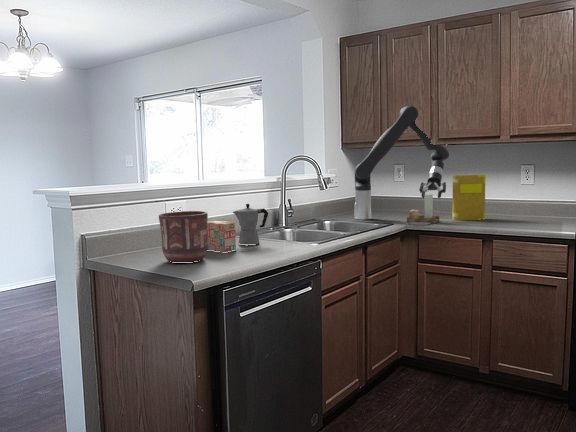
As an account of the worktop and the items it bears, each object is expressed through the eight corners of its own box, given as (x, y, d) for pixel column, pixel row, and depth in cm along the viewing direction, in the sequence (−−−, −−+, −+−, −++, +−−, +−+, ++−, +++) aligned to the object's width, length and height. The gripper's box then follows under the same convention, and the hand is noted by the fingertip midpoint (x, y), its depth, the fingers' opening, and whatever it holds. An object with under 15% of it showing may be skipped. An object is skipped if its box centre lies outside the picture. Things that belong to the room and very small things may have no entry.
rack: (406, 222, 285) (406, 217, 285) (412, 220, 295) (412, 215, 295) (434, 223, 278) (434, 218, 277) (439, 220, 288) (439, 215, 288)
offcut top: (409, 215, 286) (409, 211, 285) (412, 214, 293) (412, 209, 293) (416, 215, 284) (416, 211, 284) (419, 214, 292) (419, 209, 291)
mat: (408, 224, 275) (408, 223, 275) (412, 223, 282) (412, 222, 282) (427, 225, 271) (427, 224, 271) (431, 223, 278) (431, 222, 278)
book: (481, 218, 294) (482, 174, 291) (485, 219, 287) (485, 174, 284) (451, 219, 295) (451, 175, 293) (453, 220, 289) (454, 175, 286)
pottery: (203, 255, 204) (200, 209, 202) (215, 262, 188) (212, 213, 186) (158, 260, 197) (154, 213, 195) (166, 268, 181) (162, 217, 179)
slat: (424, 220, 284) (424, 194, 283) (426, 219, 288) (426, 194, 286) (430, 220, 282) (430, 194, 281) (432, 219, 286) (432, 194, 284)
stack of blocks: (191, 249, 219) (189, 220, 218) (202, 247, 224) (201, 219, 223) (225, 254, 205) (223, 223, 204) (236, 251, 210) (235, 221, 209)
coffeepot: (233, 246, 222) (231, 205, 220) (234, 243, 231) (233, 203, 229) (269, 245, 222) (267, 203, 220) (269, 242, 232) (267, 202, 230)
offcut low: (408, 220, 286) (408, 215, 286) (412, 218, 294) (412, 214, 294) (415, 220, 284) (415, 215, 284) (419, 218, 292) (419, 214, 292)
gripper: (421, 171, 298) (416, 193, 289) (447, 171, 291) (442, 193, 282) (424, 180, 303) (419, 201, 294) (448, 180, 296) (444, 201, 287)
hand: (430, 197), depth 288 cm, fingers open, 8 cm apart
